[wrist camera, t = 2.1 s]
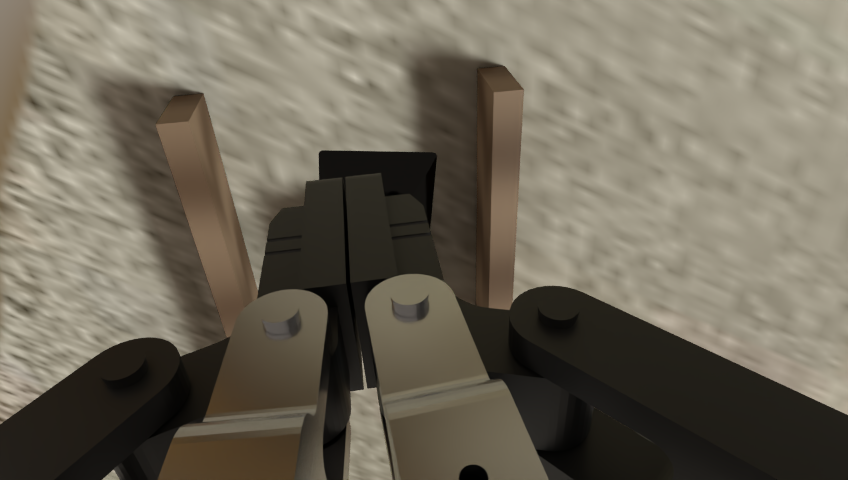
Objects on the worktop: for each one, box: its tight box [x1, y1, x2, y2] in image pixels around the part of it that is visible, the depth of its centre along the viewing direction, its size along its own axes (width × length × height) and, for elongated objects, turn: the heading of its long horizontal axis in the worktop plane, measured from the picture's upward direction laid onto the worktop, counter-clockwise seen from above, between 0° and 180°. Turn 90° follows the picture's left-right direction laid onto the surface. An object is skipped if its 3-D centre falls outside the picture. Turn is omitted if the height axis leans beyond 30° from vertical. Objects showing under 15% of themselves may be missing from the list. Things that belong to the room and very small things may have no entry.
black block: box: [319, 151, 437, 228], centre depth 27 cm, size 12×7×5 cm, turn 175°
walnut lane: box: [155, 66, 524, 338], centre depth 28 cm, size 18×14×3 cm
